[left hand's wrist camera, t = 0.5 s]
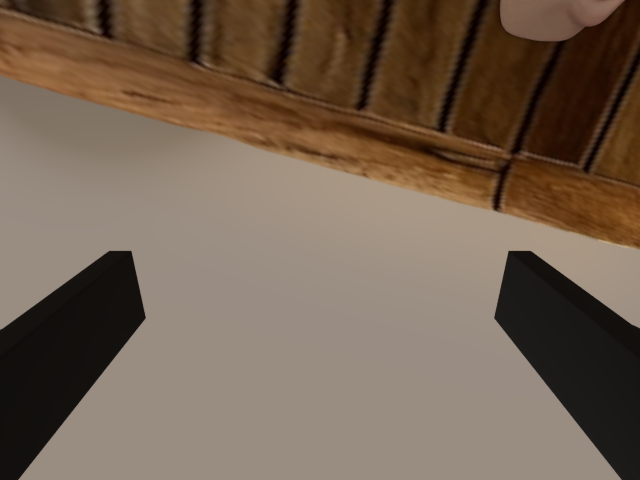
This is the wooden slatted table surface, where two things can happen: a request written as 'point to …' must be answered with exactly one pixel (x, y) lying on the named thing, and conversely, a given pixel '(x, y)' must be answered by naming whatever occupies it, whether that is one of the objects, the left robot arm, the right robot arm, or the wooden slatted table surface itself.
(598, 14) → the anatomical model
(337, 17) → the wooden slatted table surface
